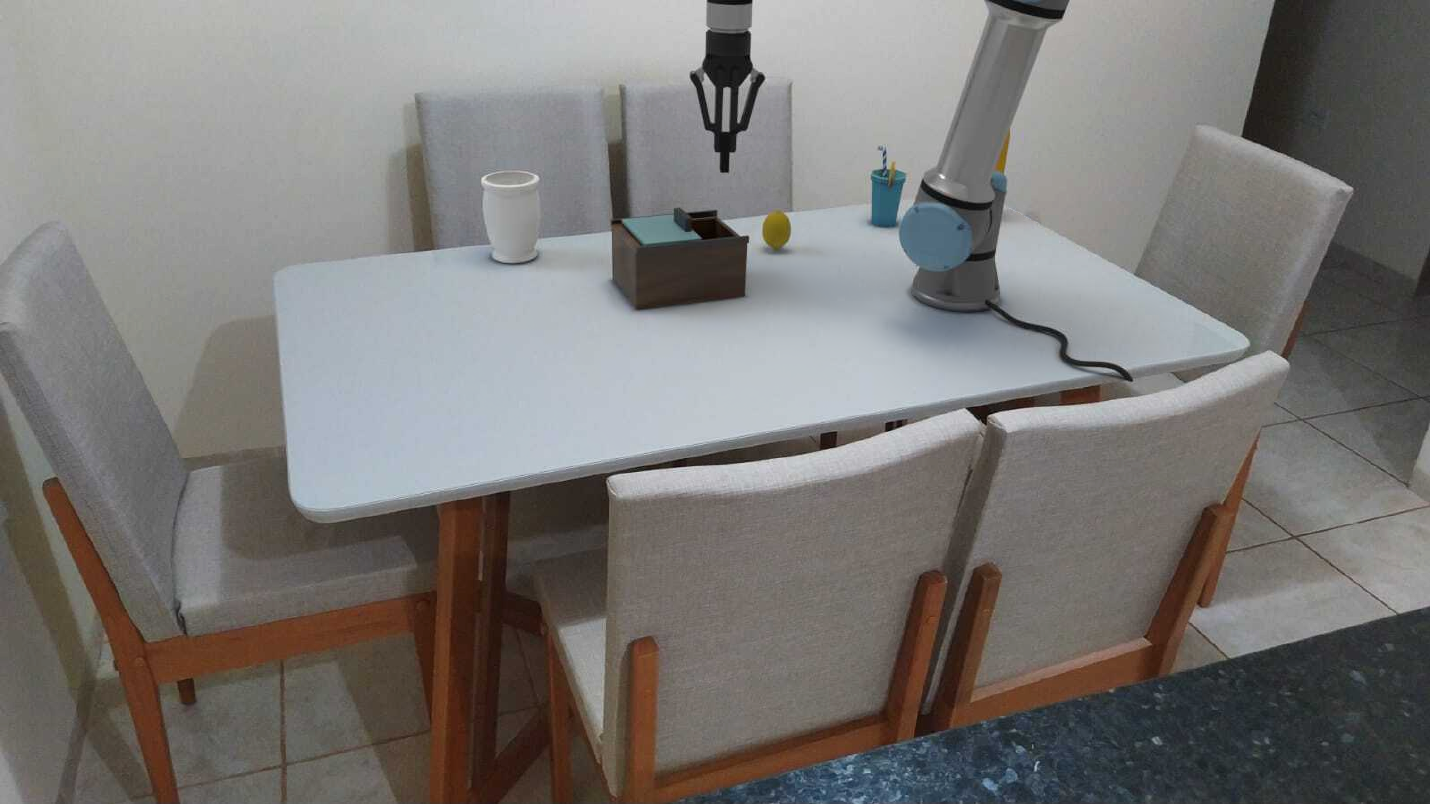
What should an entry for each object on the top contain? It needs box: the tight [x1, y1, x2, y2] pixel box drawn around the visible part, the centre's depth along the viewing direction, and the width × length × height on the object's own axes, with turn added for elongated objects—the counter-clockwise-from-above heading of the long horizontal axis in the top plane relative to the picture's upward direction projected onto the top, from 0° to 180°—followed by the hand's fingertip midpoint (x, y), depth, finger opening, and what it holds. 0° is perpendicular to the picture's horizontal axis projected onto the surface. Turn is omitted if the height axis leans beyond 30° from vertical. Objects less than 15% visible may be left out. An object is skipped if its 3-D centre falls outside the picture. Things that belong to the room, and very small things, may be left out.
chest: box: [610, 209, 750, 310], centre depth 183 cm, size 15×20×11 cm
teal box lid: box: [621, 207, 702, 246], centre depth 179 cm, size 13×10×3 cm
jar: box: [480, 170, 542, 264], centre depth 194 cm, size 11×10×15 cm
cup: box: [870, 145, 908, 228], centre depth 219 cm, size 14×8×15 cm, turn 10°
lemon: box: [761, 209, 792, 251], centre depth 203 cm, size 6×6×8 cm
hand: (724, 170), depth 184 cm, fingers closed
